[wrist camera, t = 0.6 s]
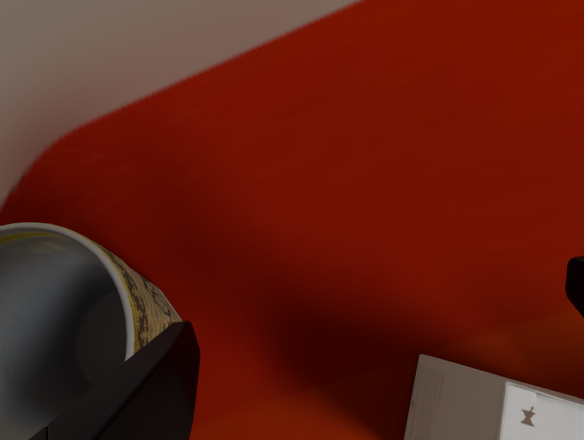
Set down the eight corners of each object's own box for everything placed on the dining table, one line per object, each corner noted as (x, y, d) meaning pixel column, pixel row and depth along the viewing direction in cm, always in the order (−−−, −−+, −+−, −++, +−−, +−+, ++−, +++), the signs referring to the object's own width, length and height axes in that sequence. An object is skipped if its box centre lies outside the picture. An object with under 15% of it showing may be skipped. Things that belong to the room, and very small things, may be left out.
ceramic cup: (222, 266, 24) (157, 232, 15) (196, 438, 22) (99, 533, 12) (34, 249, 26) (-139, 206, 16) (-10, 410, 23) (-247, 475, 13)
